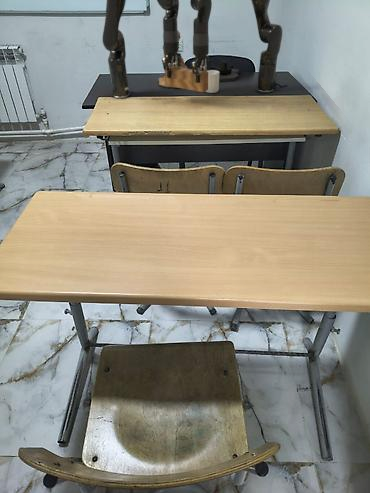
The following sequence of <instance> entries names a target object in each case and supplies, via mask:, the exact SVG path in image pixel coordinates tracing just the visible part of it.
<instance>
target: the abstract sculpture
mask: <svg viewBox="0 0 370 493" xmlns="http://www.w3.org/2000/svg"><path fill="white" fill-rule="evenodd" d="M209 70H216V71H219V83H220V82H232V81H236V80H238V79H239V78H240V75H239V74H240V70H239V69H238V68H234V65H232V64H228V62H227V61H226V60H225V59H223V58H221V59H220V66H218V65H211V66H209Z"/></svg>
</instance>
